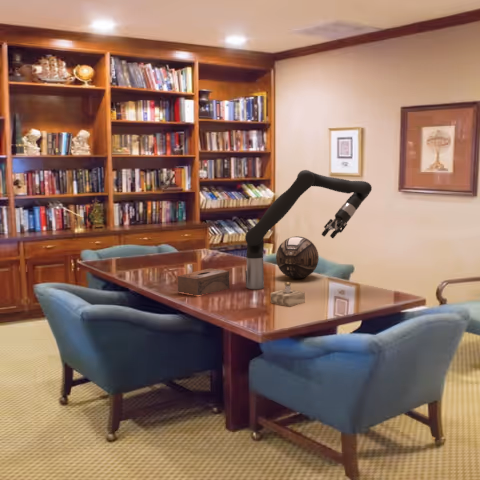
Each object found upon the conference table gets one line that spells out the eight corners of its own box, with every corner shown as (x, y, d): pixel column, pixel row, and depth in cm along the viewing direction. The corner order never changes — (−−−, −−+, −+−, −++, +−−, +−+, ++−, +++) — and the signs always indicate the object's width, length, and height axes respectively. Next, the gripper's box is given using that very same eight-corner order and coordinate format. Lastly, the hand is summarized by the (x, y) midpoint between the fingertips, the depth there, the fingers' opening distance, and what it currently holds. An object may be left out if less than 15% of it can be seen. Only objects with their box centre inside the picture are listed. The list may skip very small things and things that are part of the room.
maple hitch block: (270, 302, 301) (270, 292, 300) (286, 298, 309) (286, 288, 309) (289, 306, 292) (289, 296, 292) (304, 301, 301) (304, 292, 300)
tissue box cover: (197, 297, 317) (196, 278, 316) (178, 294, 326) (177, 275, 325) (229, 288, 336) (229, 271, 335) (210, 285, 346) (210, 268, 344)
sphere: (324, 275, 365) (323, 234, 361) (311, 283, 342) (310, 240, 339) (285, 273, 375) (284, 233, 372) (270, 281, 353) (269, 238, 349)
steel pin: (283, 302, 301) (283, 282, 299) (287, 301, 303) (287, 281, 302) (288, 303, 299) (288, 283, 297) (292, 302, 301) (292, 282, 299)
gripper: (333, 207, 323) (315, 230, 321) (348, 209, 310) (329, 233, 308) (342, 216, 326) (324, 239, 323) (357, 218, 313) (338, 242, 310)
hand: (327, 236), depth 315 cm, fingers open, 8 cm apart
